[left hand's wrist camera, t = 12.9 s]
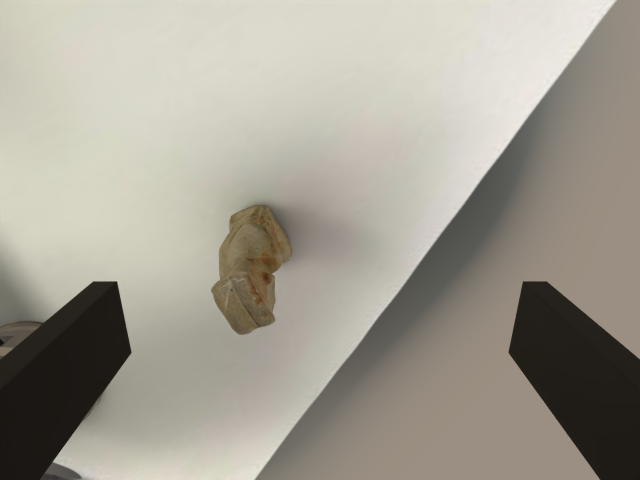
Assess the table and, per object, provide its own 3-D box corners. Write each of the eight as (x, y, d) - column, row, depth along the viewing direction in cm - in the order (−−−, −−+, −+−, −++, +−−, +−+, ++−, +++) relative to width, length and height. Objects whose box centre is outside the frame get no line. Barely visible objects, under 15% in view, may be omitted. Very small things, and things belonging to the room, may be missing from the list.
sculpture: (252, 268, 44) (221, 349, 30) (225, 210, 42) (178, 269, 28) (300, 251, 44) (291, 328, 30) (276, 192, 41) (253, 244, 27)
